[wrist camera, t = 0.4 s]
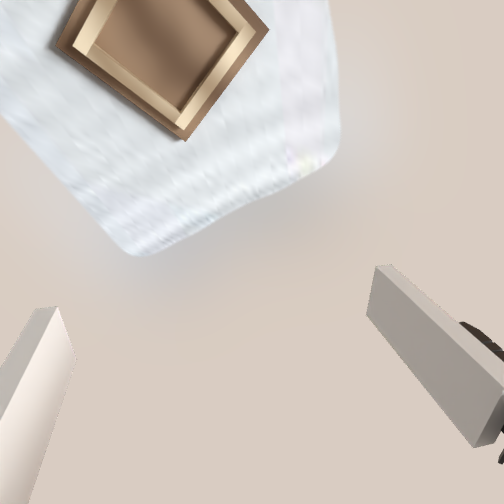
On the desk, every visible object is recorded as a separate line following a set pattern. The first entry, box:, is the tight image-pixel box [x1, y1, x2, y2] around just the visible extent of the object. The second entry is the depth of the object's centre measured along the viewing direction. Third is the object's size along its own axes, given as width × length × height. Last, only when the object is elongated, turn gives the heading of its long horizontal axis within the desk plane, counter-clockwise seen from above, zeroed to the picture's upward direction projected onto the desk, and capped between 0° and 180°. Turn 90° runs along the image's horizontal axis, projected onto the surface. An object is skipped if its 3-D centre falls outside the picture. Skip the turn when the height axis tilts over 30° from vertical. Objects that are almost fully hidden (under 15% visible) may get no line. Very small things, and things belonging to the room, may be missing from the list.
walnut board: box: [55, 0, 269, 142], centre depth 26 cm, size 12×12×2 cm
